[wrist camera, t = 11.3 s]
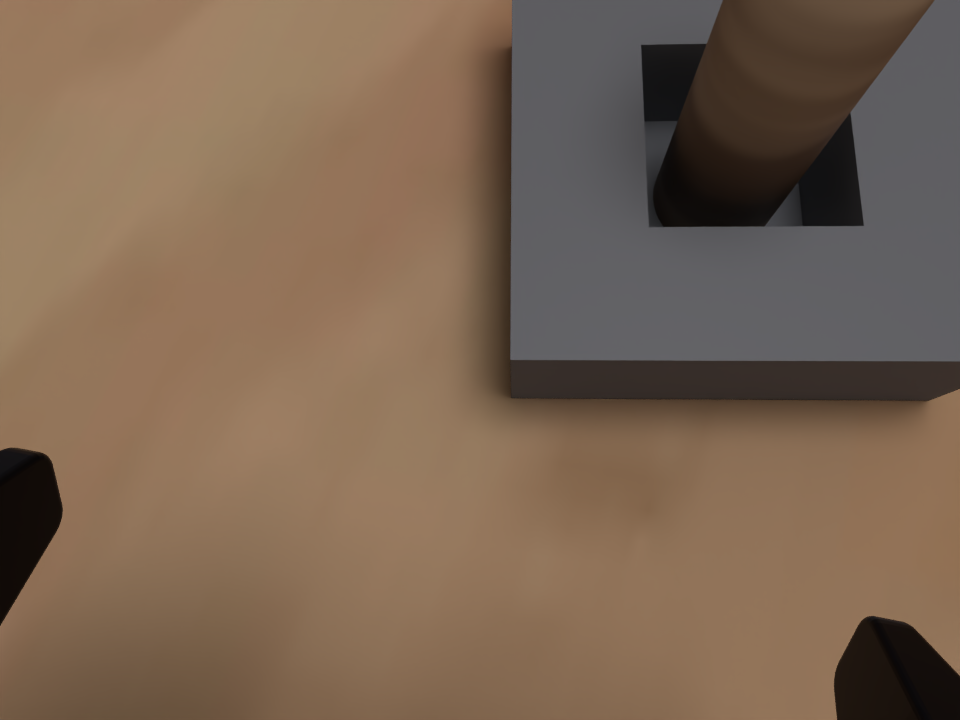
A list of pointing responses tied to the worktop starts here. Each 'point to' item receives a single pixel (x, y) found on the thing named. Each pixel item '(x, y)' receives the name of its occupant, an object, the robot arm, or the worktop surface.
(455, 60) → the worktop surface
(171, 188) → the worktop surface
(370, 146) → the worktop surface
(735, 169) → the walnut pin
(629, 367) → the socket block
